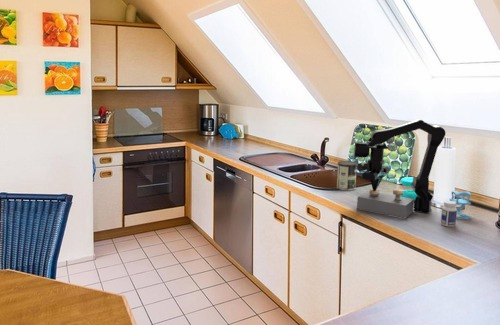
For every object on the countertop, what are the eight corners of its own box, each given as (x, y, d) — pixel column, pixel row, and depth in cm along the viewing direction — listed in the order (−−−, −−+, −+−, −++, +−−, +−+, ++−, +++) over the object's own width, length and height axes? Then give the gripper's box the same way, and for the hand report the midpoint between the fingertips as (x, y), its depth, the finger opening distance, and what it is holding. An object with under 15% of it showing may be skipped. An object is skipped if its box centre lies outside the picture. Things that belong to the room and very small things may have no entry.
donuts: (400, 176, 224) (420, 177, 221) (398, 194, 226) (418, 196, 223) (402, 180, 214) (423, 182, 212) (400, 200, 216) (421, 201, 214)
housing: (412, 211, 198) (413, 199, 197) (404, 218, 189) (405, 205, 188) (366, 202, 211) (367, 191, 210) (356, 208, 202) (357, 196, 201)
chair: (463, 213, 197) (465, 187, 194) (471, 219, 189) (474, 192, 186) (445, 213, 197) (448, 187, 195) (453, 219, 189) (456, 192, 186)
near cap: (403, 204, 196) (404, 189, 195) (400, 206, 193) (401, 192, 192) (394, 202, 199) (395, 188, 198) (390, 204, 196) (391, 190, 194)
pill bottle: (456, 224, 183) (458, 201, 181) (454, 228, 178) (457, 205, 176) (441, 221, 185) (443, 199, 183) (439, 225, 181) (441, 202, 179)
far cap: (379, 204, 203) (380, 190, 202) (376, 206, 200) (377, 192, 198) (370, 202, 206) (371, 188, 205) (367, 204, 202) (367, 190, 201)
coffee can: (354, 185, 242) (356, 161, 239) (356, 190, 232) (357, 165, 229) (336, 185, 244) (337, 160, 241) (336, 189, 234) (338, 164, 231)
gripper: (367, 152, 210) (365, 183, 214) (351, 158, 196) (349, 192, 199) (390, 155, 204) (388, 187, 207) (375, 162, 189) (373, 196, 192)
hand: (374, 190), depth 201 cm, fingers closed, pressing on far cap
